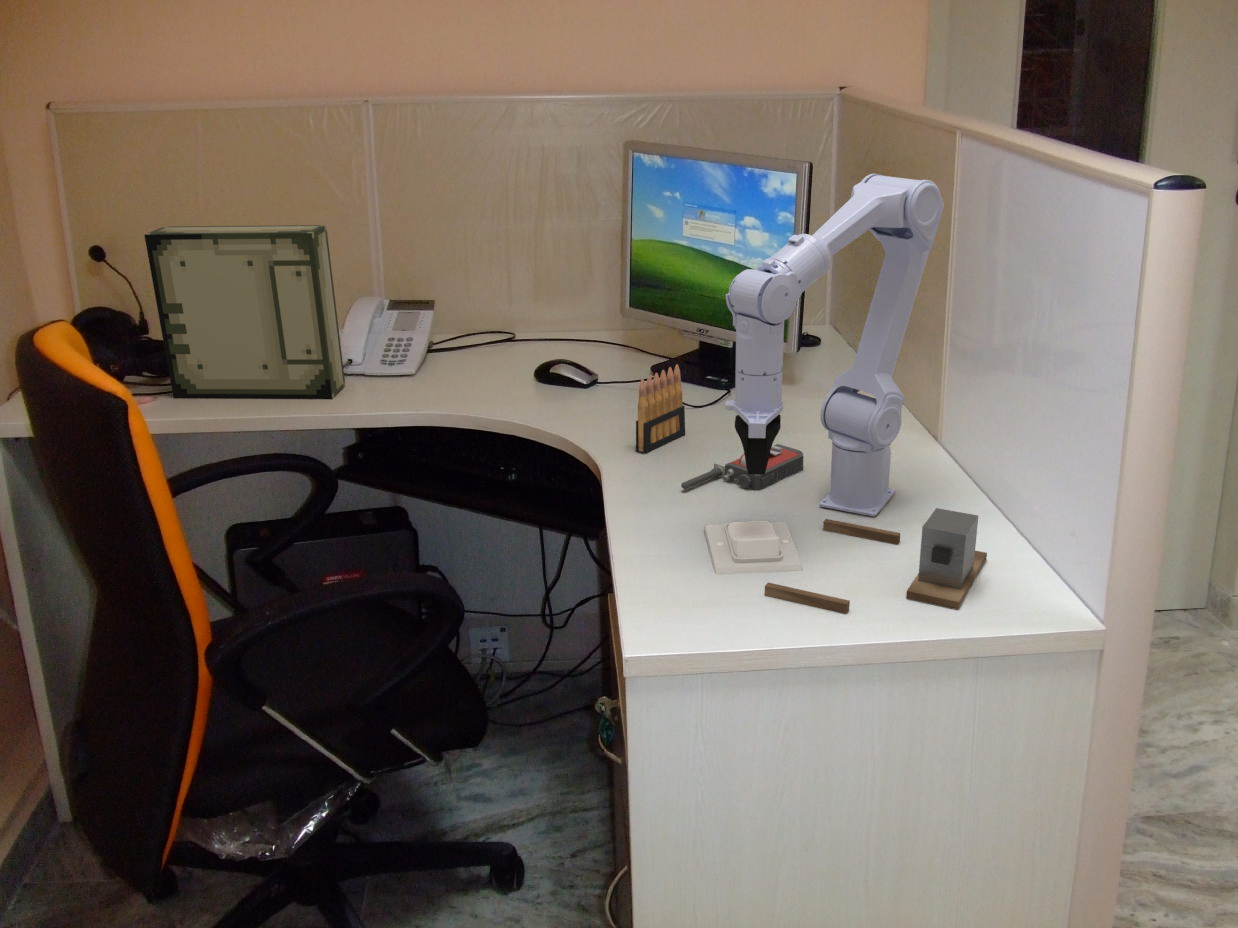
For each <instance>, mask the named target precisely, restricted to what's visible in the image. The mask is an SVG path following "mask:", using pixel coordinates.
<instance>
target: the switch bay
mask: <svg viewBox="0 0 1238 928" xmlns="http://www.w3.org/2000/svg"><path fill="white" fill-rule="evenodd" d="M822 522H823V523H822V524H823V525H822V531H826V532H831V533H837V534H842V535H845V536H853V537H856V538H861V539H862V538H863V539H867V540H872V541H877V542H883V543H888V544H893V545H899V543H900V541H901V532H896V531H892V530H886V529H881V528H876V527H871V526H866V525H861V524H856V523H851V522H845V521H839V520H835V519H834V520H833V519H828V518H825V519H824V520H823V521H822ZM764 596H767V597H772V598H775V599H780V600H784V601H789V602H793V603H799V604H803V605H808V606H811V607H816V608H819V609H825V610H829V611H834V612H836V613H843V614H848V612H849V611H850V607H851V606H850V601H851V600H850V599H849V600H848V599H844V598H839V597H835V596H832V595H825V594H821V593H818V592H813V591H808V590H804V589H799V588H795V587H791V586H786V585H782V584H776V583H772V582H767V583H766V584H765V585H764Z"/></svg>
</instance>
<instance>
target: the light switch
mask: <svg viewBox="0 0 1238 928" xmlns="http://www.w3.org/2000/svg"><path fill="white" fill-rule="evenodd" d="M703 528H704V529H703V532H704V536H705V540H706V544H707V547H708V552H709V555H710V558H711V562H712V567H713V569H714V570H713V571H714V574H715V575H733V574H737V575H738V574H760V573H761V574H762V573H782V572H785V573H786V572H801V571H803V570H804V567H803V564H802V561H801V559H800V556H799V552H798V551H797V549H796V545H795V543H794V540H793V538H792V535H791V531H790V529H789V526H788V524H787V521H767V520H749V521H747V520H746V521H745V520H744V521H734V522H728V523H714V524H705V525H704V526H703Z"/></svg>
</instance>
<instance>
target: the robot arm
mask: <svg viewBox="0 0 1238 928" xmlns="http://www.w3.org/2000/svg"><path fill="white" fill-rule="evenodd" d="M944 208H945V203H944V201H943V197H942V195H941V192H940V189H939V187H938V185H937V184H936V183H935V182H934V181H932V180H929V179H912V178H906V177H905V178H903V177H897V176H889V175H882V174H879V173H871V174H867V175H866V176H865V177H864V178H862V180H861V181H860V182H859V183H857V184H855V185H853V187H852V190H851V195H850V199H848V201H847V202H845V203H844V204H843V205H842V206H841V207H839V209H838V210H837V211H836V212H835V213H834V214H833V215H832V216H831V217H830V218H828V220H827V221H826V222H824V224H823V225H821V226H820V227H819V228H818V229H817V230H816V231H815V232H814V233H813V234H807V233H799V234H793V235H792V236H790V237H789V238H788V239H787V243H786V244H785V245H783V247H782V248H780V249H779V250H778V251H776V252H774V254H773V255H771V256H770V257H769V258H768V257H767V258H766V259H765V260H763V261H762V262H761V264H760V265H759V266H758V267H757V268H756V269H754V268H751V269H749V268H746V269H744V270H743V271H741V272H740V273H739V274H736V276H735V277H734V278H732V281H731V283H730V285H729V288H728V293H726V294H725V302H726V306H727V309H728V310H729V311H730V313H731V314H732V326H733V327H734V329H735V390H734V400H733V399H730V400H726V401H725V410H726V411H734V413H736V415H735V418H734V419H735V420H734V429H735V432H736V434H737V435H738V437H739V439H740V441H741V444H742V449H743V452H744V453H743V454H744V455H745V461H746V467H747V471H748V474H762V475H764V474H765V472H766V468H767V464H768V460H769V455H770V450H771V447H772V445H774V441H775V440H776V437H777V436H778V434H779V432H780V430H781V427H782V426H781V421H782V420H781V419H782V418H781V417H782V416H781V413H782V412H783V411H784V402H783V401H782V398H783V397H782V396H783V374H784V373H783V371H784V370H783V369H784V367H783V366H784V365H783V364H784V340H785V339H784V338H785V337H784V336H785V321H786V320H789V319H790V317H791V315H792V313H793V312H794V310H795V306H796V303H797V301H798V300H799V299H801V296H802V293H803V292H805V291H806V290H807V289H808V288H809V287H811V286H812V285H813V284H815V282H817V280H819V279H820V278H822V277H823V276H824V275H825V274H826V273H827V272H828V271H829V269H830V268H831V267H830V266H831V257H832V256H834V255H835V254H837V253H838V252H840V250H842V249H844V248H845V247H846V246H848V245H849V244H851V243H852V242H854V241H855V240H856V239H858V238H859V237H861V236H862V235H863V234H866V232H867V231H869V232H870V233H871V234H872V235H873V237H874V238H875V239H876V240H877V241H879V242H880V244H881V245H882V248H883V249H884V253H885V256H884V259H883V263H882V266H881V270H880V272H879V275H878V279H877V283H876V286H875V289H874V293H873V296H872V298H871V299H872V300H871V304H870V307H869V310H868V314H867V317H866V321H865V324H864V327H863V330H862V334H861V337H860V341H859V344H858V348H857V351H856V353H855V354H856V355H855V358H854V361H853V364H852V367H851V368H849V369H848V370H846V371H844V372H843V373H841V374H839V375H837V376H835V378H834V379H833V383H832V386H831V388H830V391H829V392H828V394H827V395H826V396H825V398H824V400H823V402H822V405H821V408H820V409H821V410H820V422H821V426H822V427H823V428H824V429H825V430H826V431H828V432H827V433H828V439H829V440H830V441H831V442H832V444H831V445H832V446H831V464H830V481H829V482H830V484H829V485H830V486H829V492H828V493H827V494H826V495H825V496H824V497H823V499H822V500H820V502H819V507H822V508H827V509H830V510H832V509H833V510H836V511H841V512H842V511H843V512H848V513H853V514H858V515H864V516H867V517H868V516H869V517H876V516H877V515H879V513H880V511H881V510H882V509H883V508H884V507H885V506H886V504H887V503H888V502H889V500H890V499H891V498H892V497H893V496H894V494H895V493H896V489H894V488H890V486H889V485H890V474H891V473H890V469H891V455H892V452H891V445H892V443H893V442H894V441H895V439H896V438H897V437H898V434H899V433H900V431H901V427H902V408H903V405H904V404H903V403H904V401H905V395H904V393H902V391H901V389H900V388H899V387H898V385H897V384H896V382H895V381H894V379H893V375H894V372H895V370H896V366H897V365H896V364H897V361H898V358H899V355H900V352H901V349H902V345H903V341H904V339H905V336H906V335H905V334H906V332H907V329H908V324H909V322H910V318H911V314H912V312H913V309H914V306H915V302H916V298H917V295H918V291H919V288H920V284H921V282H922V278H923V274H924V272H925V268H926V264H927V261H928V258H929V254H930V251H931V249H932V247H933V245H934V241H935V239H936V235H937V231H938V228H939V225H940V223H941V218H942V216H943V215H942V214H943V211H944ZM859 392H863V393H866V394H870V395H872V396H873V397H872V396H868V395H866V394H863V393H859Z"/></svg>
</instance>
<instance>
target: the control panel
mask: <svg viewBox="0 0 1238 928" xmlns="http://www.w3.org/2000/svg"><path fill="white" fill-rule="evenodd" d="M327 228H328V227H327V225H326V224H319V225H318V224H313V225H312V224H309V225H308V224H307V225H305V224H299V225H298V224H297V225H295V224H294V225H293V224H292V225H290V224H289V225H288V224H287V225H282V224H281V225H208V226H207V225H206V226H205V225H201V226H200V225H197V226H195V225H194V226H190V225H189V226H184V225H183V226H182V225H181V226H163V227H159V228H157V229H154V230H153V231H149V232H147V233H145V234H144V241H145V246H146V252H147V257H148V264H149V269H150V275H151V280H152V281H151V282H152V284H153V285H152V286H153V291H154V297H155V304H156V307H157V313H158V314H157V315H158V318H159V323H160V324H159V325H160V330H161V337H162V340H163V341H162V342H163V348H164V353H165V358H166V363H167V369H168V376H169V380H170V386H171V392H172V397H173V399H179V400H180V399H189V400H190V399H195V400H196V399H197V400H198V399H199V400H200V399H203V400H204V399H208V400H211V399H213V400H214V399H215V400H219V399H221V400H223V399H224V400H237V399H238V400H334V399H335V398H336V397H337V395H339V393H341V392H342V391H343V390H344V389H345V388H346V379H345V371H344V361H343V354H342V353H343V352H342V344H341V337H340V330H339V322H338V312H337V305H336V304H337V303H336V296H335V287H334V278H333V272H332V271H333V270H332V263H331V261H332V260H331V254H330V246H329V237H328V229H327Z"/></svg>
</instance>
